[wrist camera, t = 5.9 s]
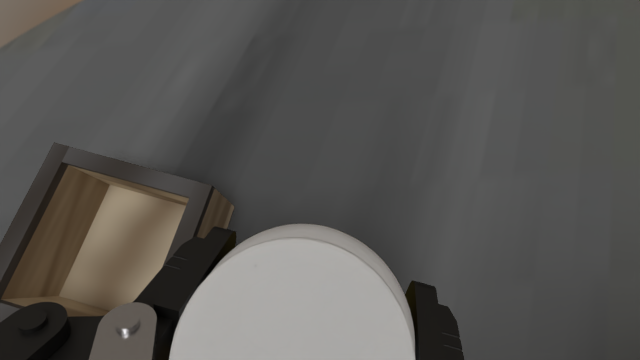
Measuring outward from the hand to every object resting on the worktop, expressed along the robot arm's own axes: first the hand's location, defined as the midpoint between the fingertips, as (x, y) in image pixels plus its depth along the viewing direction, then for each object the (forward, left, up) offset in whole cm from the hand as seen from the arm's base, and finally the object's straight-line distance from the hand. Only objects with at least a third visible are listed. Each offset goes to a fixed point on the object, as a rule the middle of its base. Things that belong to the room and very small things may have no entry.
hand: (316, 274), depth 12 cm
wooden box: (+12, +2, -13) cm, 18 cm away
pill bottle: (0, +2, -6) cm, 6 cm away
